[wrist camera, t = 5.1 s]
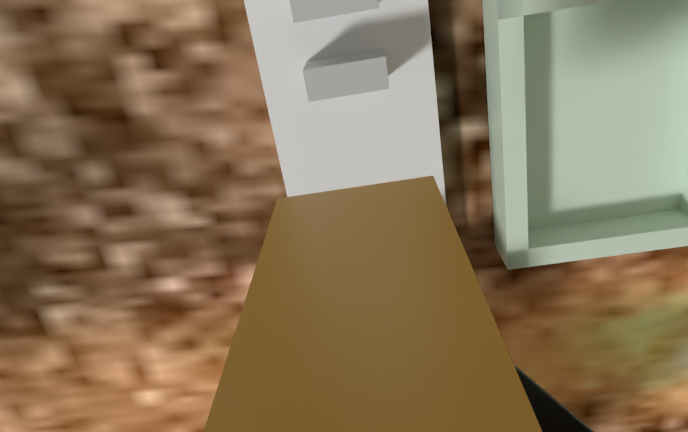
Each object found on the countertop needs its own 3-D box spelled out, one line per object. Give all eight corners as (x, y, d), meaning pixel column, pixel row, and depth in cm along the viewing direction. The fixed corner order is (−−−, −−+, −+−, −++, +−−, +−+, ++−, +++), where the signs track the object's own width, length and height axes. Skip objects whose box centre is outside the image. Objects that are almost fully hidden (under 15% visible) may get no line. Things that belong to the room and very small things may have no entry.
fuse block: (460, 396, 26) (474, 446, 23) (338, 410, 26) (337, 461, 23) (396, -296, 15) (407, -356, 12) (193, -253, 16) (161, -302, 13)
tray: (691, 218, 22) (722, 241, 20) (494, 245, 22) (508, 269, 21) (722, -51, 18) (766, -53, 16) (482, -9, 18) (496, -8, 16)
